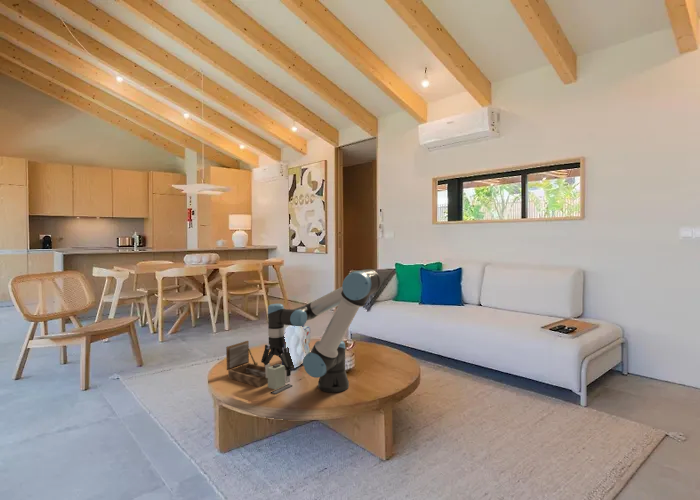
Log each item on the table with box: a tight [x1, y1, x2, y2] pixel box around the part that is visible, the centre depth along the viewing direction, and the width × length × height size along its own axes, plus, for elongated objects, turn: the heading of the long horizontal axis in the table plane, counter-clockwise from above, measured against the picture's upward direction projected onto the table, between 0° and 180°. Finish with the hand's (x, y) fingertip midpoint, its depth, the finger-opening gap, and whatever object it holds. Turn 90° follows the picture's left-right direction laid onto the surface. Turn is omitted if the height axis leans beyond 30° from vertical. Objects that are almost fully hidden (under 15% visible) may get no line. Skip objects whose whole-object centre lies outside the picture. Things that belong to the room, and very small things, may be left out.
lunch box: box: [281, 325, 311, 365], centre depth 239 cm, size 28×10×22 cm, turn 168°
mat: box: [269, 383, 293, 395], centre depth 203 cm, size 10×12×1 cm
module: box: [267, 363, 286, 390], centre depth 203 cm, size 5×7×11 cm
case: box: [225, 340, 268, 388], centre depth 214 cm, size 23×14×17 cm, turn 56°
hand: (277, 379), depth 203 cm, fingers open, 12 cm apart
